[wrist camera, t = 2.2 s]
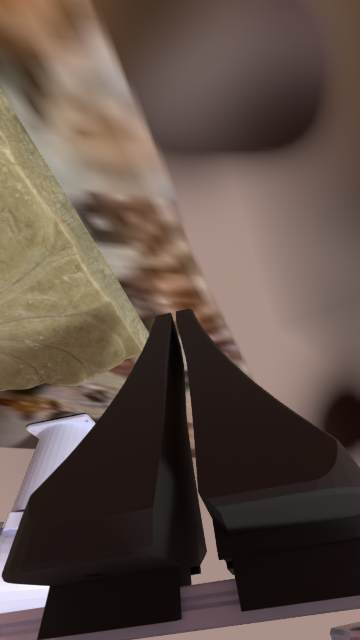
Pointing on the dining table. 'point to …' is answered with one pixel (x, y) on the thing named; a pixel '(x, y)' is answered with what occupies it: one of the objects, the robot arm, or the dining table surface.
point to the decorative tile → (53, 279)
